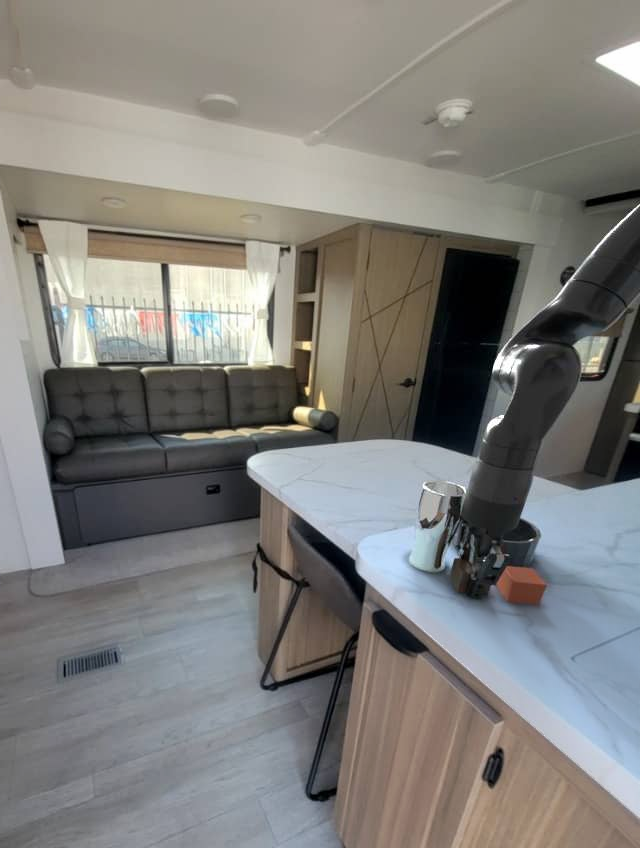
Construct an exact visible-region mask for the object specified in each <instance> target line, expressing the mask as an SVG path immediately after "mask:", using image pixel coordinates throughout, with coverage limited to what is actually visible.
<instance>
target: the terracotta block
mask: <svg viewBox="0 0 640 848" xmlns="http://www.w3.org/2000/svg"><path fill="white" fill-rule="evenodd" d="M495 586H496V587H497V588H498V590H499V591H500V593H501V594H502V596H503V597H504V599H505V600H506V602H507V603H516V604H525V605H526V604H527V605H536V606H539V605H540V603H541V601H542V598H543V596H544V593H545V591H546V589H547V586H548V585H547V584H546V582H545V581H544V580H543V578H541V576H540V575H539V574H538V573H537V571H536V570H535V569H534V568H533V567H512V566H507V567H506V569H505V570H504V572H503V574H502V575H501V577H500V579H499V580H498V582H497V584H496V585H495Z"/></svg>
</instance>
